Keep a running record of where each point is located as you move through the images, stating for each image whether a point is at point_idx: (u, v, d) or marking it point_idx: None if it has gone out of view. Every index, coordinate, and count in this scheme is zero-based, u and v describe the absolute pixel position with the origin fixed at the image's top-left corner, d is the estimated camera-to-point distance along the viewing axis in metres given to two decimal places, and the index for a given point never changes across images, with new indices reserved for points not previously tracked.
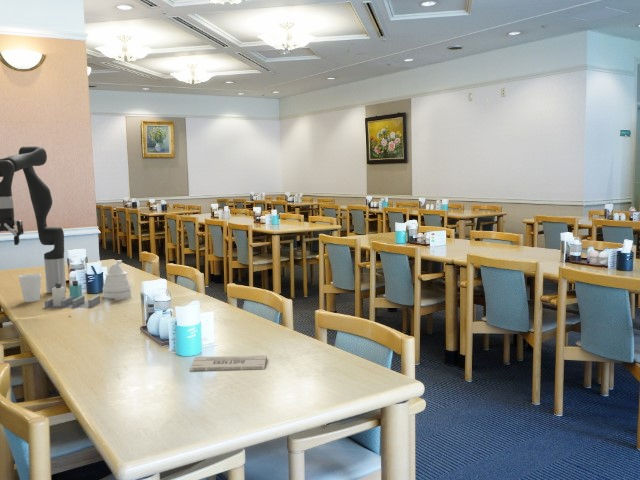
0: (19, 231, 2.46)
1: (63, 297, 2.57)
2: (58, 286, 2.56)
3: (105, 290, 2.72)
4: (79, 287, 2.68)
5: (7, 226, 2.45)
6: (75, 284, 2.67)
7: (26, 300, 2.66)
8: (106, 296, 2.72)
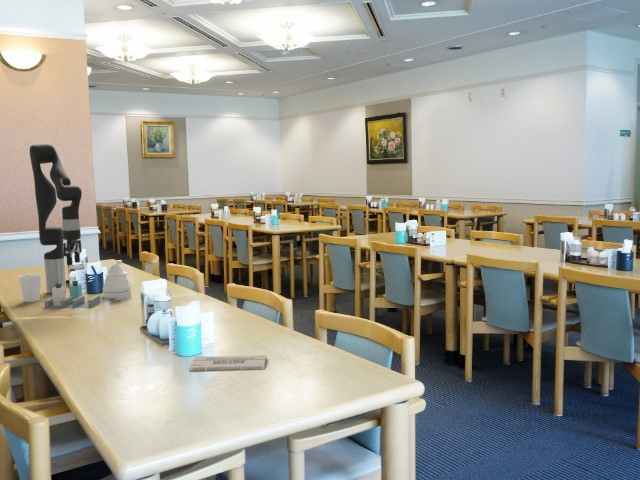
0: (81, 249, 2.73)
1: (63, 297, 2.57)
2: (58, 286, 2.56)
3: (105, 290, 2.72)
4: (79, 287, 2.68)
5: (78, 245, 2.68)
6: (75, 284, 2.67)
7: (26, 300, 2.66)
8: (106, 296, 2.72)
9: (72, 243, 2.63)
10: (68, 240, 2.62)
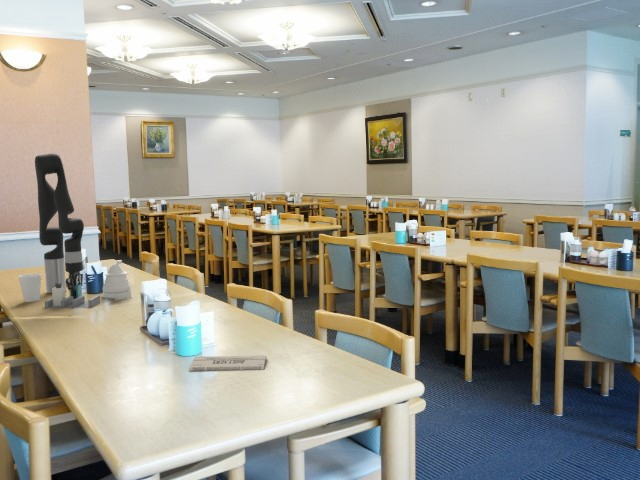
0: (81, 283, 2.73)
1: (63, 297, 2.57)
2: (58, 286, 2.56)
3: (105, 290, 2.72)
4: (79, 287, 2.68)
5: (80, 277, 2.69)
6: None
7: (26, 300, 2.66)
8: (106, 296, 2.72)
9: (74, 276, 2.65)
10: (70, 272, 2.64)
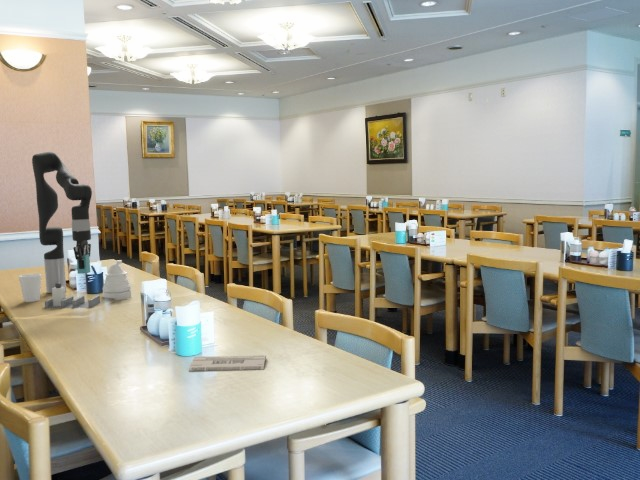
0: (89, 253, 2.60)
1: (63, 297, 2.57)
2: (58, 286, 2.56)
3: (105, 290, 2.72)
4: (87, 257, 2.55)
5: (87, 247, 2.57)
6: None
7: (26, 300, 2.66)
8: (106, 296, 2.72)
9: (82, 246, 2.52)
10: (78, 241, 2.51)
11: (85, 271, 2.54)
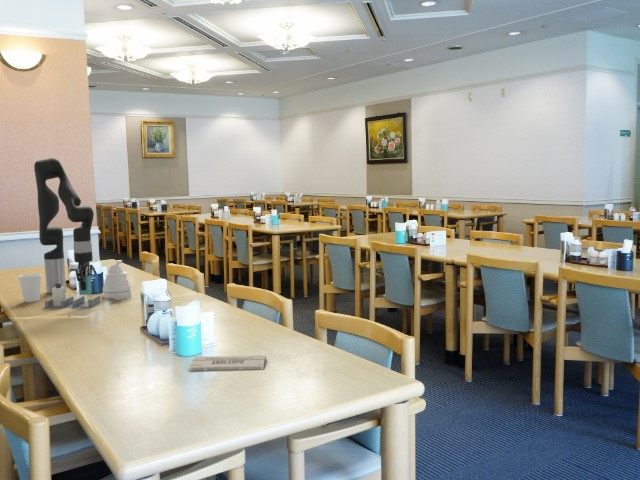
0: (91, 274, 2.61)
1: (63, 297, 2.57)
2: (58, 286, 2.56)
3: (105, 290, 2.72)
4: (88, 278, 2.56)
5: (89, 268, 2.58)
6: None
7: (26, 300, 2.66)
8: (106, 296, 2.72)
9: (84, 267, 2.53)
10: (80, 263, 2.52)
11: (87, 292, 2.55)
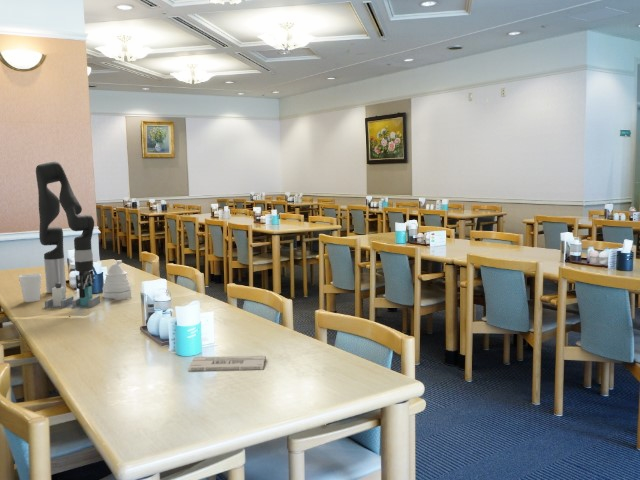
0: (93, 280, 2.63)
1: (63, 297, 2.57)
2: (58, 286, 2.56)
3: (105, 290, 2.72)
4: (89, 289, 2.57)
5: (90, 276, 2.59)
6: (85, 286, 2.56)
7: (26, 300, 2.66)
8: (106, 296, 2.72)
9: (84, 275, 2.54)
10: (80, 272, 2.53)
11: (87, 303, 2.56)
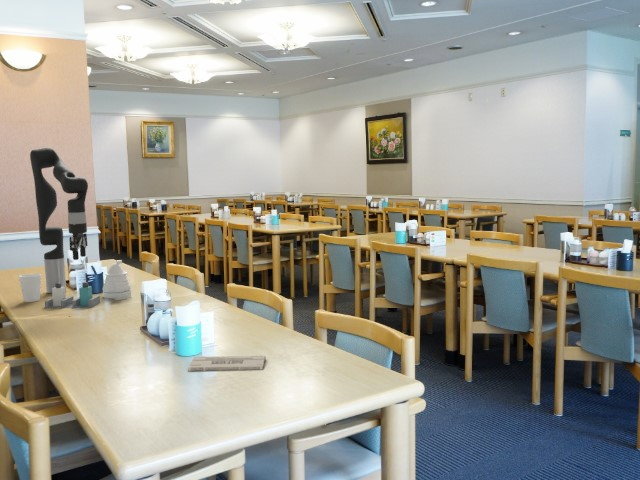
0: (86, 243, 2.65)
1: (63, 297, 2.57)
2: (58, 286, 2.56)
3: (105, 290, 2.72)
4: (89, 289, 2.57)
5: (84, 239, 2.60)
6: (85, 286, 2.56)
7: (26, 300, 2.66)
8: (106, 296, 2.72)
9: (78, 237, 2.56)
10: (74, 234, 2.54)
11: (87, 303, 2.56)
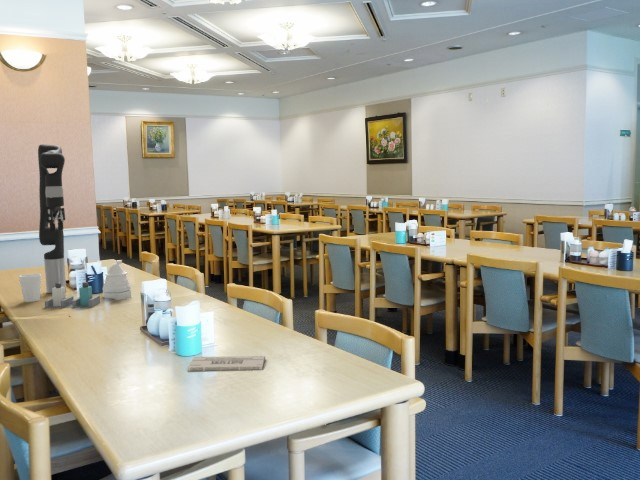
0: (64, 217, 2.76)
1: (63, 297, 2.57)
2: (58, 286, 2.56)
3: (105, 290, 2.72)
4: (89, 289, 2.57)
5: (61, 213, 2.71)
6: (85, 286, 2.56)
7: (26, 300, 2.66)
8: (106, 296, 2.72)
9: (55, 210, 2.67)
10: (51, 207, 2.65)
11: (87, 303, 2.56)
